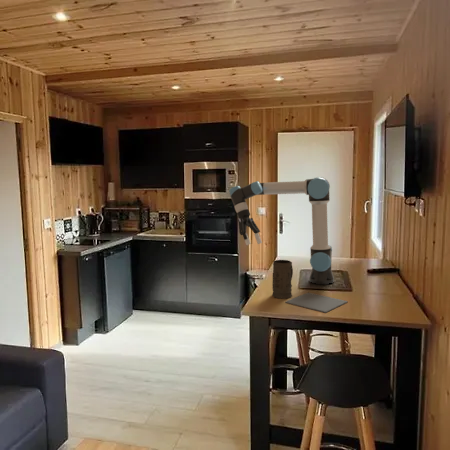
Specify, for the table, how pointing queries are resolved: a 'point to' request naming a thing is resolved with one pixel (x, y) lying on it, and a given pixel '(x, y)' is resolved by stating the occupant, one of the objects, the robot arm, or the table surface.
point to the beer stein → (282, 279)
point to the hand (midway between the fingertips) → (254, 244)
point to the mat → (316, 302)
